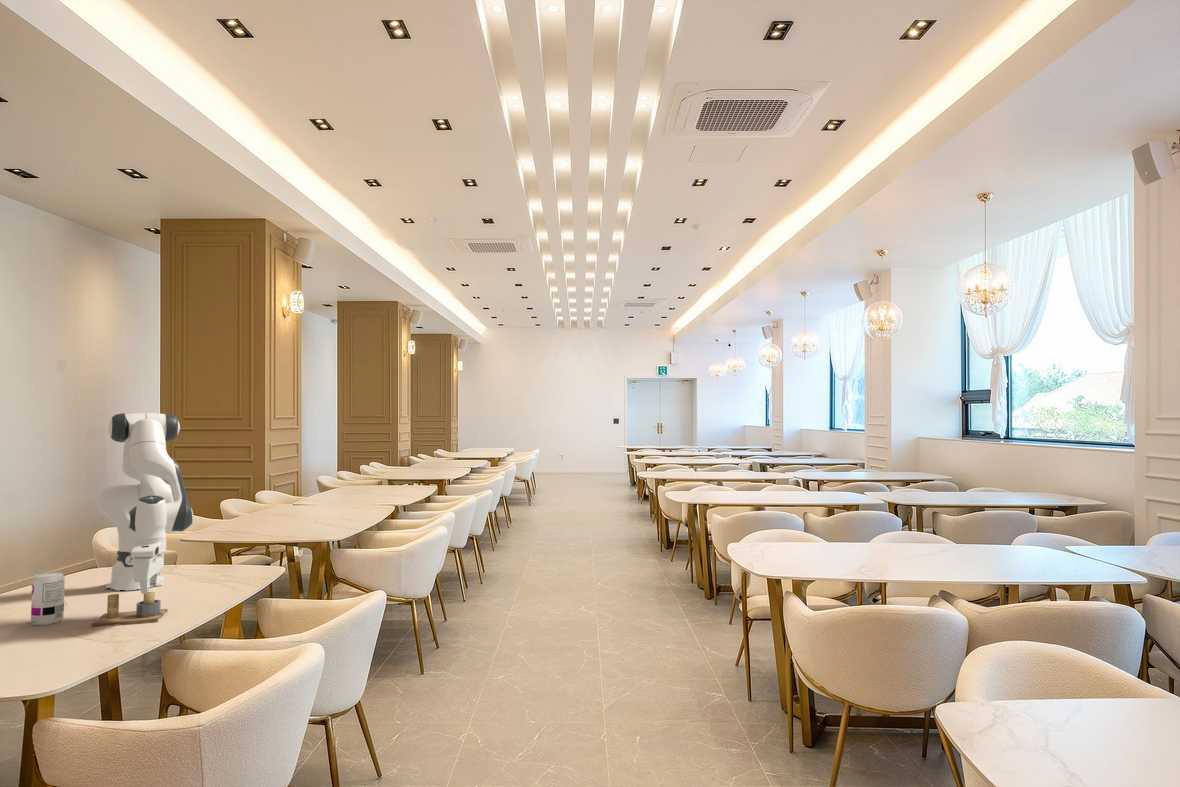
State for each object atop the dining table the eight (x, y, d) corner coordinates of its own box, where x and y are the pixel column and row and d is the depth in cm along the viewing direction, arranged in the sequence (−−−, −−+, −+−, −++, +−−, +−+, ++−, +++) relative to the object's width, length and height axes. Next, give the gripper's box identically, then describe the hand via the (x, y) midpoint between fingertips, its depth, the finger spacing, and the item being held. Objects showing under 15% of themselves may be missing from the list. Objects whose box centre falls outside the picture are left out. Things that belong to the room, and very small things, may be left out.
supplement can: (25, 626, 217) (27, 577, 217) (38, 619, 225) (40, 572, 225) (56, 624, 219) (57, 576, 220) (68, 617, 227) (69, 570, 227)
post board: (104, 616, 228) (105, 591, 229) (167, 611, 234) (168, 587, 234) (91, 626, 217) (91, 600, 217) (157, 621, 223) (158, 596, 223)
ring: (139, 612, 229) (140, 600, 229) (162, 611, 231) (162, 599, 231) (134, 618, 223) (134, 605, 223) (156, 616, 225) (157, 604, 225)
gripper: (148, 541, 237) (147, 582, 237) (129, 553, 217) (127, 598, 217) (169, 540, 239) (168, 581, 239) (152, 552, 219) (151, 596, 219)
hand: (149, 589), depth 228 cm, fingers open, 8 cm apart
